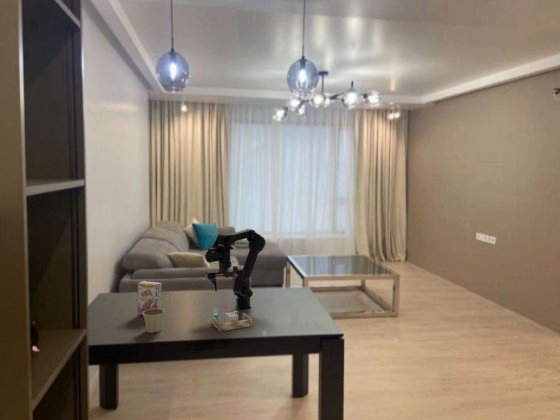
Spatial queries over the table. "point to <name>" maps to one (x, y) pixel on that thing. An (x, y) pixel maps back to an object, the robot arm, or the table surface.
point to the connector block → (231, 317)
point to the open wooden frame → (233, 323)
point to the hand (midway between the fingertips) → (224, 290)
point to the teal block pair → (217, 315)
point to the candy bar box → (149, 296)
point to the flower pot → (153, 319)
